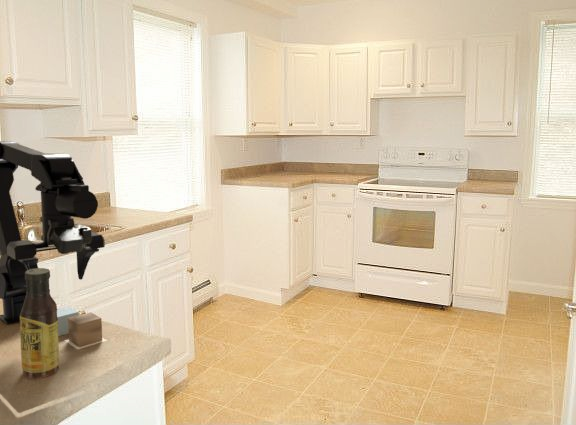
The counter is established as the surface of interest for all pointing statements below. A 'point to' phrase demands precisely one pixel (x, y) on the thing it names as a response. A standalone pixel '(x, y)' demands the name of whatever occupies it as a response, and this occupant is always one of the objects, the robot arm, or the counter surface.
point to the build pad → (83, 346)
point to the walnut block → (85, 329)
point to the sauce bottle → (39, 327)
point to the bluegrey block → (64, 319)
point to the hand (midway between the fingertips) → (59, 283)
